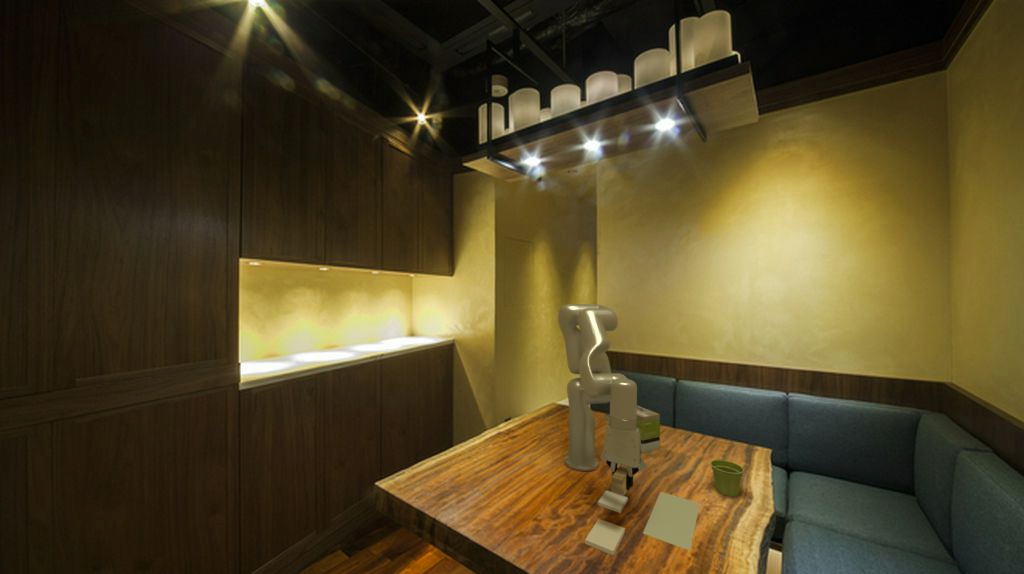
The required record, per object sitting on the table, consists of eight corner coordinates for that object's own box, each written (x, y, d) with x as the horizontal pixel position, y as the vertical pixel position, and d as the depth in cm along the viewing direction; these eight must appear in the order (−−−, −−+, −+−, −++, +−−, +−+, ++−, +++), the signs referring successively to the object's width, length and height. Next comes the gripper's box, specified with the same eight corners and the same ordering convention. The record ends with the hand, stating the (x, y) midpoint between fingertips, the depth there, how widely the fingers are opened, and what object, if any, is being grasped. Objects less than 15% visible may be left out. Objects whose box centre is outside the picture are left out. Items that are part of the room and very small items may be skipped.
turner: (620, 473, 110) (620, 457, 110) (640, 479, 107) (640, 462, 107) (597, 505, 93) (597, 485, 93) (620, 513, 89) (620, 493, 90)
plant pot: (703, 486, 116) (703, 459, 116) (730, 485, 117) (730, 459, 117) (722, 502, 107) (722, 473, 107) (751, 501, 107) (751, 472, 108)
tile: (598, 518, 95) (585, 539, 86) (624, 528, 91) (613, 551, 82) (598, 527, 95) (584, 549, 86) (624, 537, 91) (613, 560, 82)
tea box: (616, 439, 154) (616, 405, 154) (633, 436, 158) (634, 403, 159) (642, 453, 140) (642, 416, 141) (660, 449, 144) (660, 413, 145)
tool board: (660, 494, 110) (660, 491, 111) (699, 506, 104) (699, 503, 104) (642, 536, 90) (642, 533, 90) (690, 554, 84) (690, 550, 84)
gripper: (591, 420, 104) (590, 483, 103) (649, 432, 95) (649, 501, 94) (600, 413, 110) (599, 473, 109) (655, 424, 101) (654, 489, 100)
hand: (622, 485), depth 102 cm, fingers closed on turner, 3 cm apart
